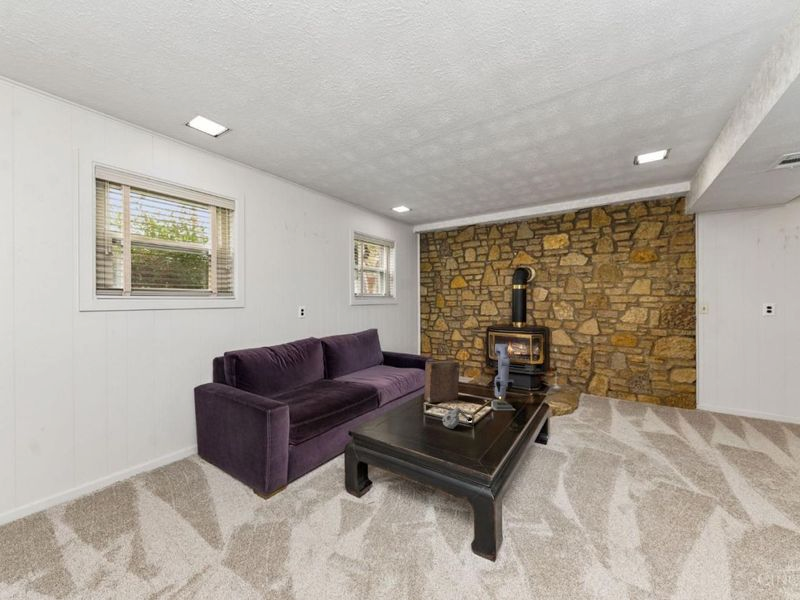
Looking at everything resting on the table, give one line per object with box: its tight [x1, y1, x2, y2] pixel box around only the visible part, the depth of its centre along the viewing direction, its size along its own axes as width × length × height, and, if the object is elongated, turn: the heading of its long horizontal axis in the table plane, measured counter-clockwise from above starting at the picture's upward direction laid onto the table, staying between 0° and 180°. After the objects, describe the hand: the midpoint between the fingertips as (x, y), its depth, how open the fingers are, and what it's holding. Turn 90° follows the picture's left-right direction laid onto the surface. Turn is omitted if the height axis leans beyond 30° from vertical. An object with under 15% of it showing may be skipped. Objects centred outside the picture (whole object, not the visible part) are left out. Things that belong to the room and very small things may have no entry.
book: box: [423, 359, 460, 404], centre depth 261 cm, size 25×9×30 cm, turn 115°
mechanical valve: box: [441, 405, 473, 430], centre depth 213 cm, size 10×18×15 cm
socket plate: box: [483, 399, 516, 411], centre depth 253 cm, size 22×16×3 cm
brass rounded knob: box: [498, 395, 506, 405], centre depth 249 cm, size 4×4×8 cm
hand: (503, 391), depth 257 cm, fingers open, 7 cm apart
